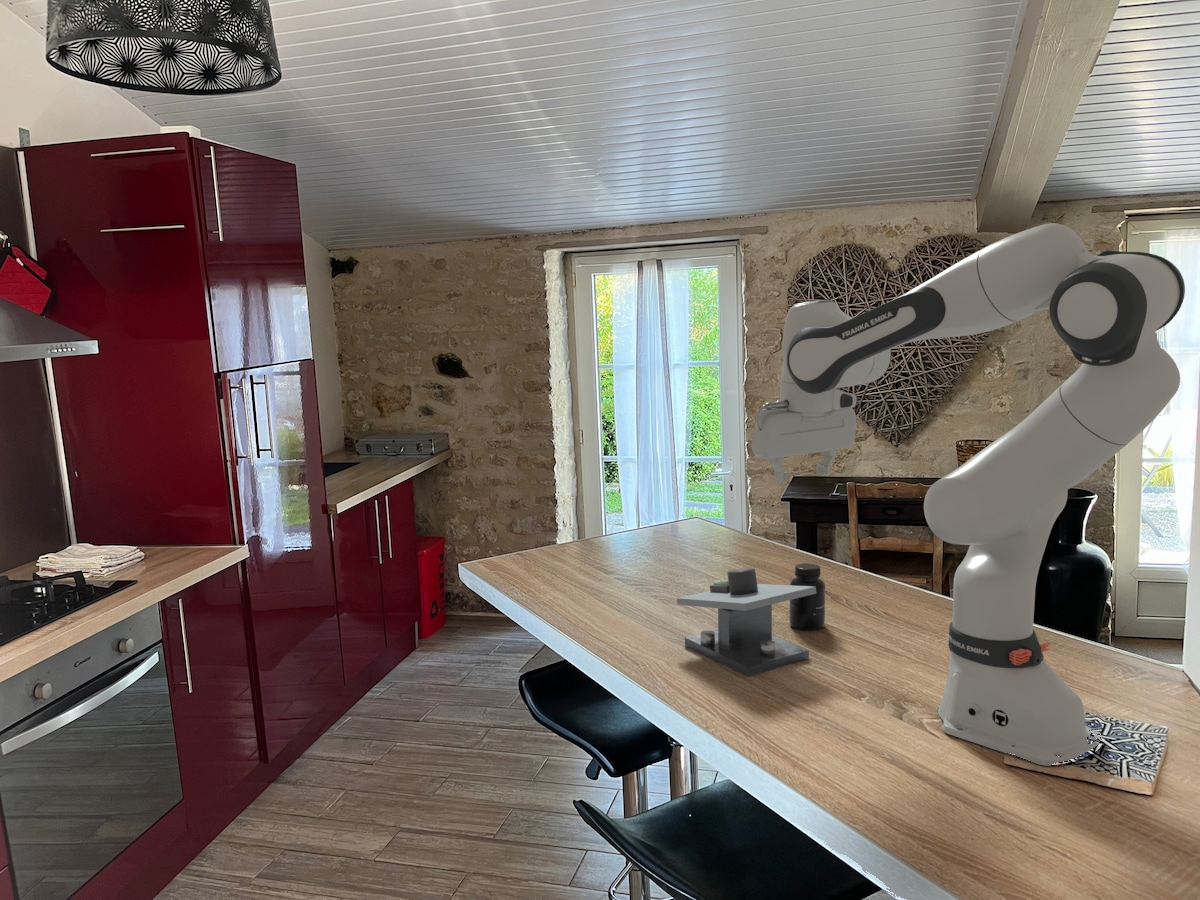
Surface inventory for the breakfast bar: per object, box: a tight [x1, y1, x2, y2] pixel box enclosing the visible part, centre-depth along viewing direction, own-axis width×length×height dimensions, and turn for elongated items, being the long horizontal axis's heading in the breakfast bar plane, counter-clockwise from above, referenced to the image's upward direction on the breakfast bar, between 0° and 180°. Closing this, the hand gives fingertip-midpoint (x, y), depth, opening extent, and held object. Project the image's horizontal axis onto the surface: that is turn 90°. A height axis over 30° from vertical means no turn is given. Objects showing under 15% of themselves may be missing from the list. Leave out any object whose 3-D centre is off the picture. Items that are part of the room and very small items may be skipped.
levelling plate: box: [676, 567, 816, 611], centre depth 168 cm, size 20×16×6 cm
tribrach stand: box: [684, 604, 810, 677], centre depth 169 cm, size 18×14×9 cm
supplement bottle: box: [788, 563, 826, 631], centre depth 182 cm, size 7×7×12 cm
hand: (802, 478), depth 158 cm, fingers open, 8 cm apart
